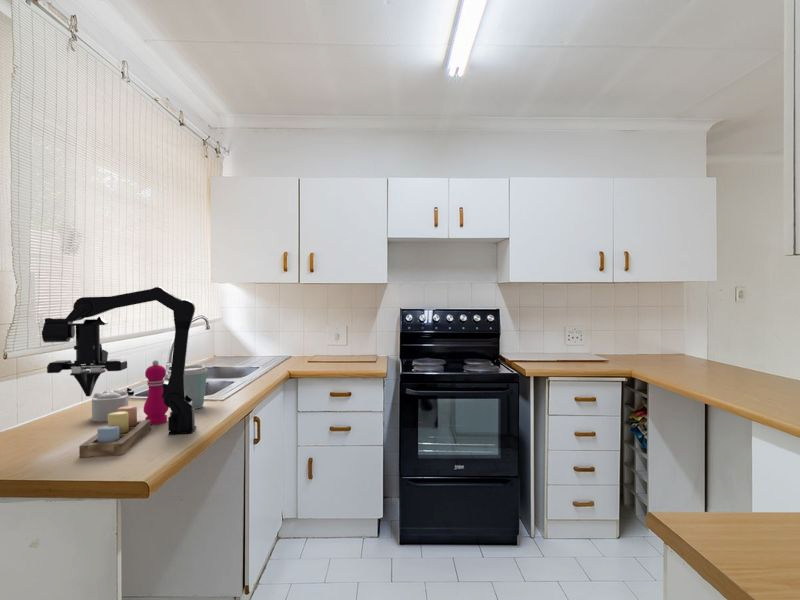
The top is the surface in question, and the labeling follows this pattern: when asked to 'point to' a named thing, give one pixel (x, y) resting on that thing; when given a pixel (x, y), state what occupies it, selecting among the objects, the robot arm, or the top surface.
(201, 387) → the disposable coffee cup
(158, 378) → the pepper mill
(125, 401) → the lumpy-topped squat cylinder
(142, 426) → the wooden compartment tray
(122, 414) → the button ochre
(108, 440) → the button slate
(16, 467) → the top surface
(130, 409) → the salmon rounded lump
